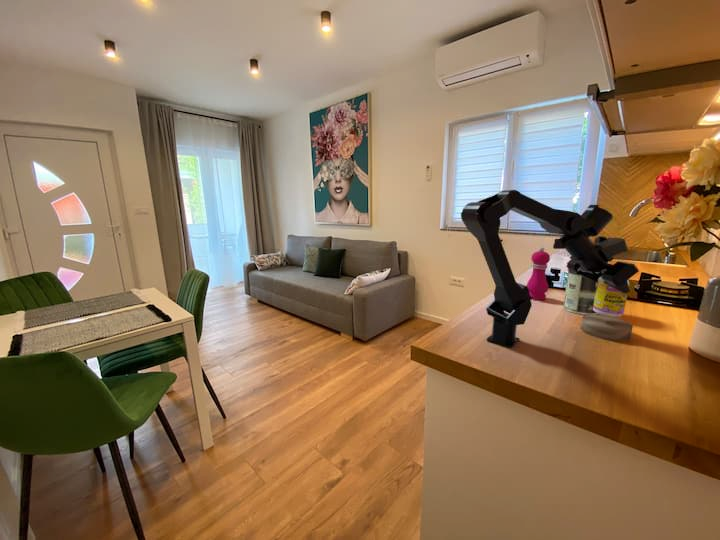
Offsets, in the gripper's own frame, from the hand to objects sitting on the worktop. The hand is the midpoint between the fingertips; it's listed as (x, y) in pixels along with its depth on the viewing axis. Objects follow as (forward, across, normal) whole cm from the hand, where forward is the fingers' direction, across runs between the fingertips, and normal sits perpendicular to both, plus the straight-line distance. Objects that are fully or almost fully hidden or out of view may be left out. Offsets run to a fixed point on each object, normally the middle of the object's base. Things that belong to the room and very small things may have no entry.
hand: (617, 288), depth 81 cm
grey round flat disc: (+9, 0, +10) cm, 13 cm away
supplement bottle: (+4, 0, +6) cm, 8 cm away
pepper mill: (+6, +32, +12) cm, 34 cm away
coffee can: (+12, +18, +6) cm, 23 cm away
